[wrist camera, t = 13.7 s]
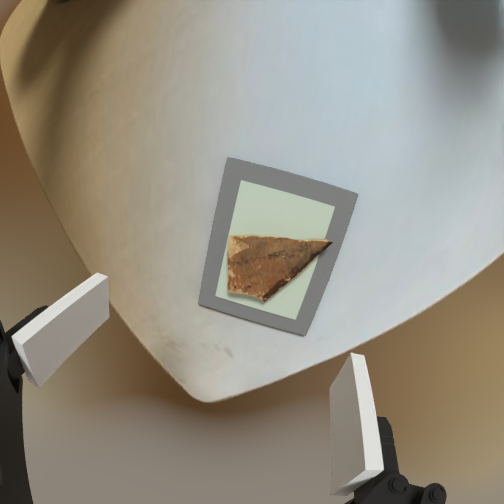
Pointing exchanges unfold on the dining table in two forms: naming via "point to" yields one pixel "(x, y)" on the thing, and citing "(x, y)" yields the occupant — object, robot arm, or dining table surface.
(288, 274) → the shard
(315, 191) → the mat
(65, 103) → the dining table surface
